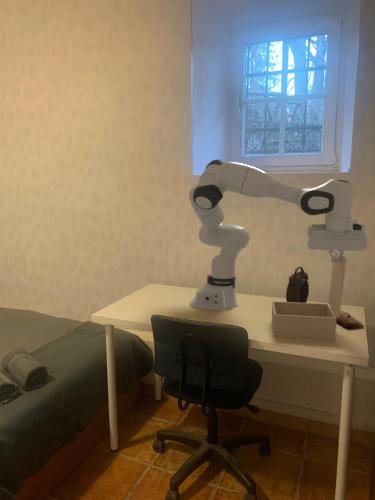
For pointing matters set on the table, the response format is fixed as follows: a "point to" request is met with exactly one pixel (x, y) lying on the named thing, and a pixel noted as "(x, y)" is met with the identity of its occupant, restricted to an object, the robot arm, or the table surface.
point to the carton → (303, 320)
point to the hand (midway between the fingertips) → (335, 261)
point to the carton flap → (337, 284)
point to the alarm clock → (298, 287)
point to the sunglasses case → (348, 321)
